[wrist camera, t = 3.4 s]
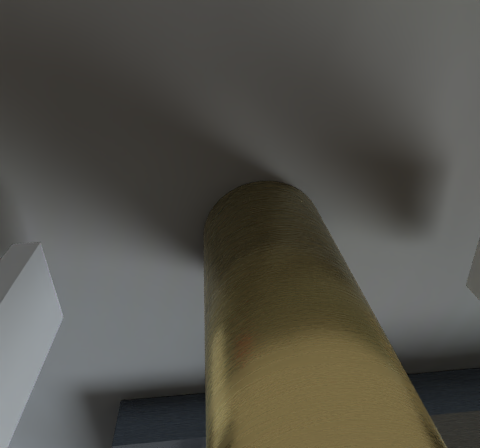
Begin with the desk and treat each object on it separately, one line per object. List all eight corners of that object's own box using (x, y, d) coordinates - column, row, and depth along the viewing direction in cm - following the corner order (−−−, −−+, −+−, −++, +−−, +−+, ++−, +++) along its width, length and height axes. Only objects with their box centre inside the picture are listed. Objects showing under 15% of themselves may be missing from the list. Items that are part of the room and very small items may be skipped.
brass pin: (207, 287, 15) (217, 699, 6) (199, 185, 13) (194, 572, 4) (317, 279, 15) (477, 666, 6) (324, 177, 13) (568, 529, 4)
